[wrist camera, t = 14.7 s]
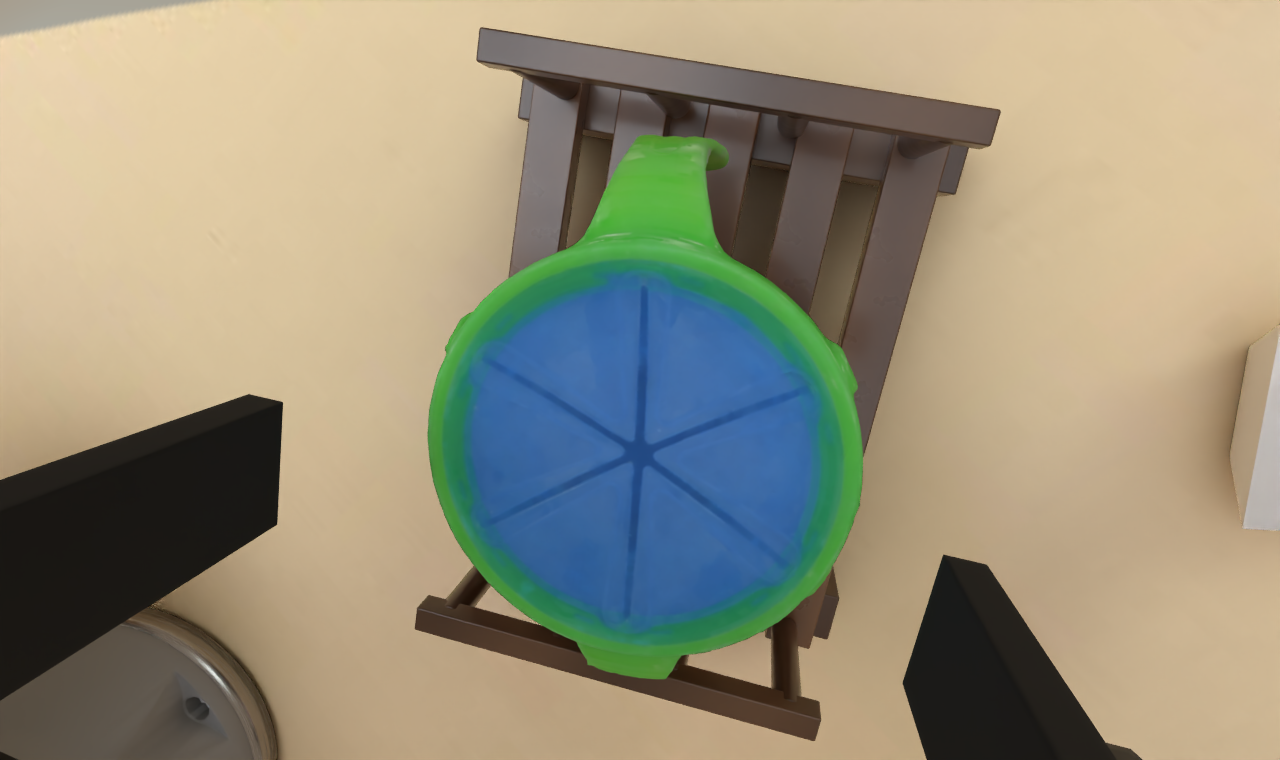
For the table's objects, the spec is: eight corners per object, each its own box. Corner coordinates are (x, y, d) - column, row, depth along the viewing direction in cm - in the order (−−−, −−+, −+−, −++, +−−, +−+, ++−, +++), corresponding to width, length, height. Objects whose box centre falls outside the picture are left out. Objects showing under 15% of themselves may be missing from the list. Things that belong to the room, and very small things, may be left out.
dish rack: (490, 517, 33) (387, 628, 24) (549, 76, 28) (446, 11, 19) (822, 601, 31) (844, 757, 22) (950, 143, 26) (1047, 105, 17)
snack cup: (778, 588, 27) (784, 794, 18) (524, 527, 29) (399, 687, 19) (877, 181, 23) (957, 157, 14) (577, 133, 25) (453, 79, 15)
